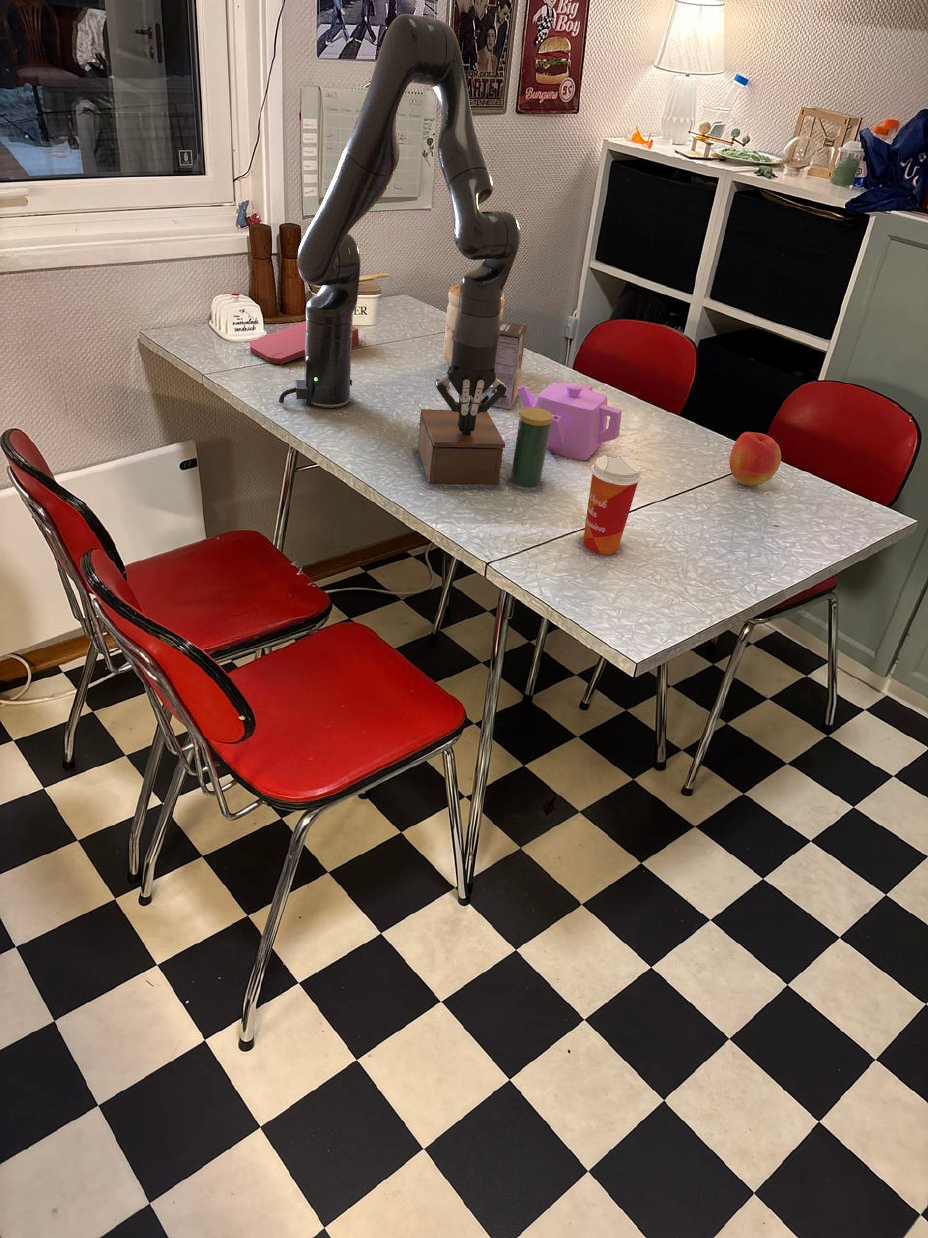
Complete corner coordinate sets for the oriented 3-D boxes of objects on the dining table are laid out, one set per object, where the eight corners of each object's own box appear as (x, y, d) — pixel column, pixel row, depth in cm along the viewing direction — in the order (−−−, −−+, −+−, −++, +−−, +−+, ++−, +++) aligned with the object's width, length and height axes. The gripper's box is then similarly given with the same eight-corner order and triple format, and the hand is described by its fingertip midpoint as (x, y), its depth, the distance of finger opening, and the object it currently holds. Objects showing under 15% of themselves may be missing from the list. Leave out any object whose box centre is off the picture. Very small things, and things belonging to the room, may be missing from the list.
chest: (497, 488, 173) (503, 449, 169) (428, 488, 171) (432, 447, 166) (481, 453, 185) (486, 415, 181) (417, 452, 182) (420, 413, 178)
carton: (278, 380, 213) (364, 346, 226) (275, 360, 210) (362, 326, 223) (247, 363, 220) (332, 331, 233) (244, 343, 216) (330, 311, 230)
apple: (744, 496, 182) (759, 448, 176) (712, 474, 189) (726, 427, 183) (781, 490, 186) (797, 443, 180) (749, 468, 193) (763, 422, 187)
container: (504, 371, 223) (515, 294, 213) (476, 385, 214) (486, 305, 204) (460, 356, 228) (468, 280, 218) (431, 369, 219) (438, 290, 209)
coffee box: (489, 389, 213) (499, 318, 204) (517, 395, 212) (528, 323, 203) (482, 404, 205) (491, 331, 196) (511, 410, 205) (521, 336, 195)
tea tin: (513, 491, 173) (523, 420, 165) (506, 476, 178) (516, 406, 170) (544, 492, 174) (556, 420, 166) (536, 477, 179) (547, 407, 171)
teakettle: (619, 459, 190) (632, 400, 183) (543, 464, 184) (553, 404, 177) (581, 423, 202) (592, 367, 195) (509, 428, 197) (517, 370, 190)
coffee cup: (572, 531, 163) (588, 452, 155) (618, 534, 164) (636, 455, 156) (581, 557, 156) (598, 475, 148) (629, 559, 157) (649, 478, 149)
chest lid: (504, 448, 168) (505, 443, 167) (433, 446, 165) (434, 442, 165) (486, 415, 181) (487, 410, 180) (420, 413, 178) (420, 408, 178)
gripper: (509, 331, 164) (496, 424, 174) (434, 328, 162) (425, 423, 171) (519, 346, 158) (505, 442, 168) (441, 343, 156) (432, 440, 165)
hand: (465, 432), depth 170 cm, fingers closed
